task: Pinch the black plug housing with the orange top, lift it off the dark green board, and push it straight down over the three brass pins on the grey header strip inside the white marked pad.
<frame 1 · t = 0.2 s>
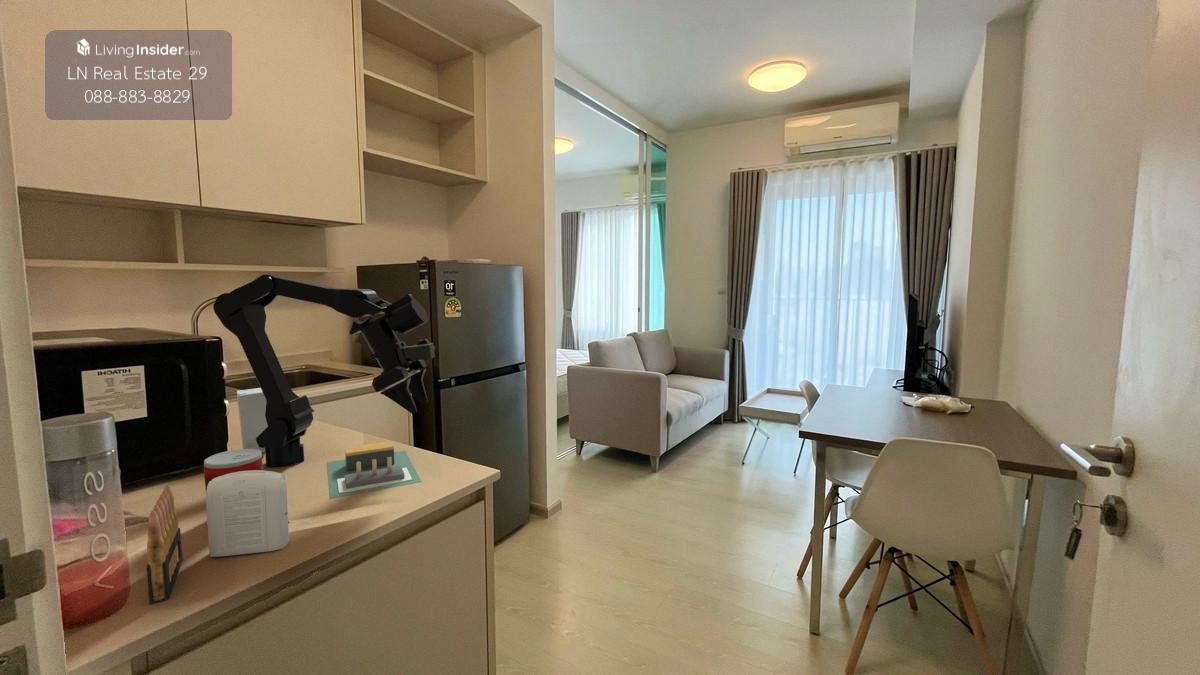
hand: (420, 407, 104), 14 cm above the counter, tool tilted 30°, fingers open, 9 cm apart
photo printer: (251, 550, 74), on the counter
plug housing: (370, 464, 104), point 1 cm above the counter, touching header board
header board: (372, 478, 101), on the counter
ammunition clip: (167, 581, 66), on the counter
skincare box: (262, 450, 116), on the counter
canned food: (237, 518, 84), on the counter
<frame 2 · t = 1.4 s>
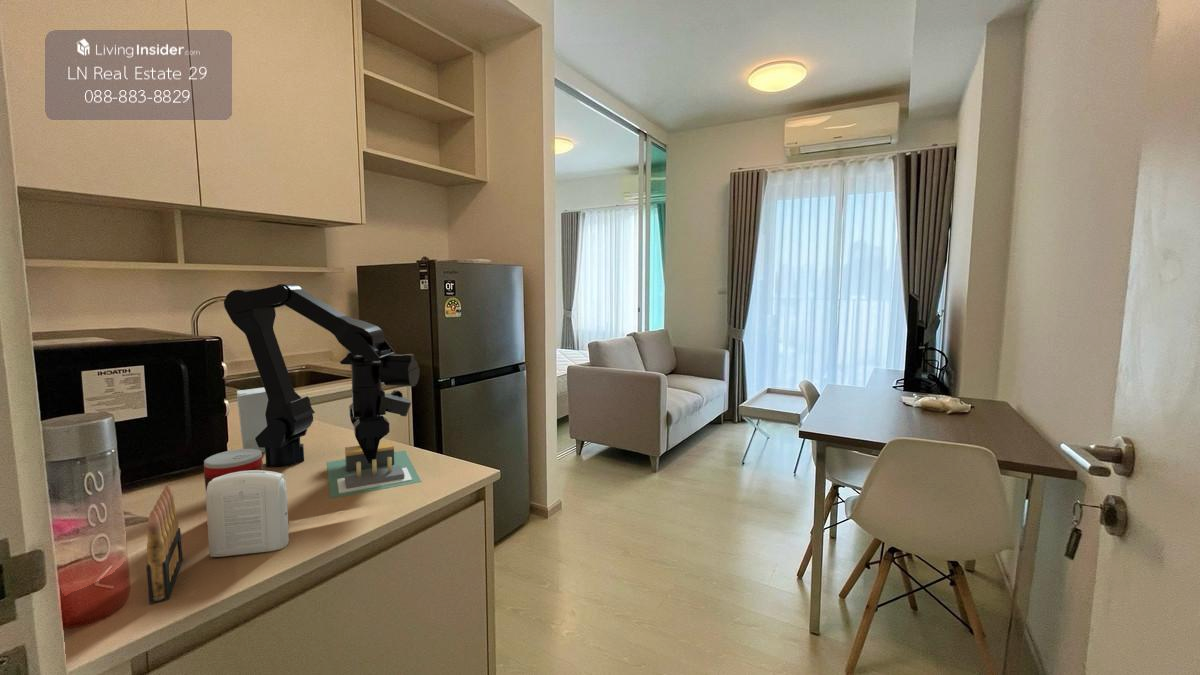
hand: (369, 455, 104), 4 cm above the counter, tool pointing down, fingers open, 9 cm apart
nothing on the counter moved.
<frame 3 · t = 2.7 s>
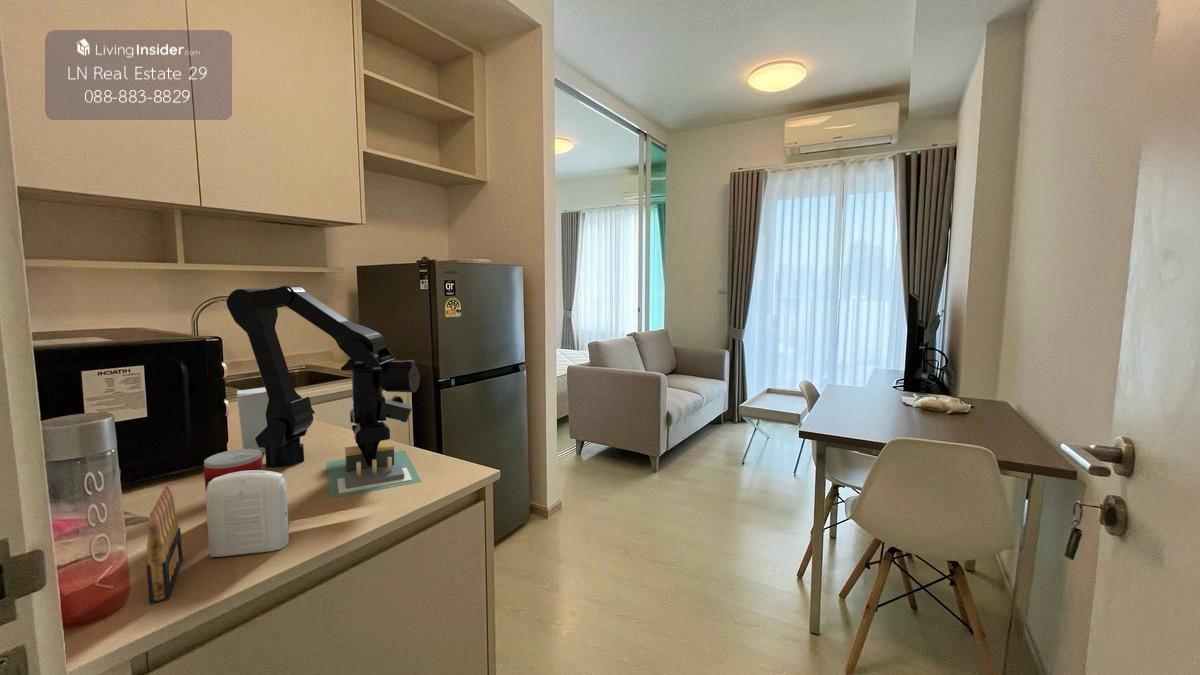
hand: (370, 461, 104), 2 cm above the counter, tool pointing down, fingers closed on plug housing, 4 cm apart
plug housing: (370, 464, 104), point 2 cm above the counter, touching gripper, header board
everything else where it was.
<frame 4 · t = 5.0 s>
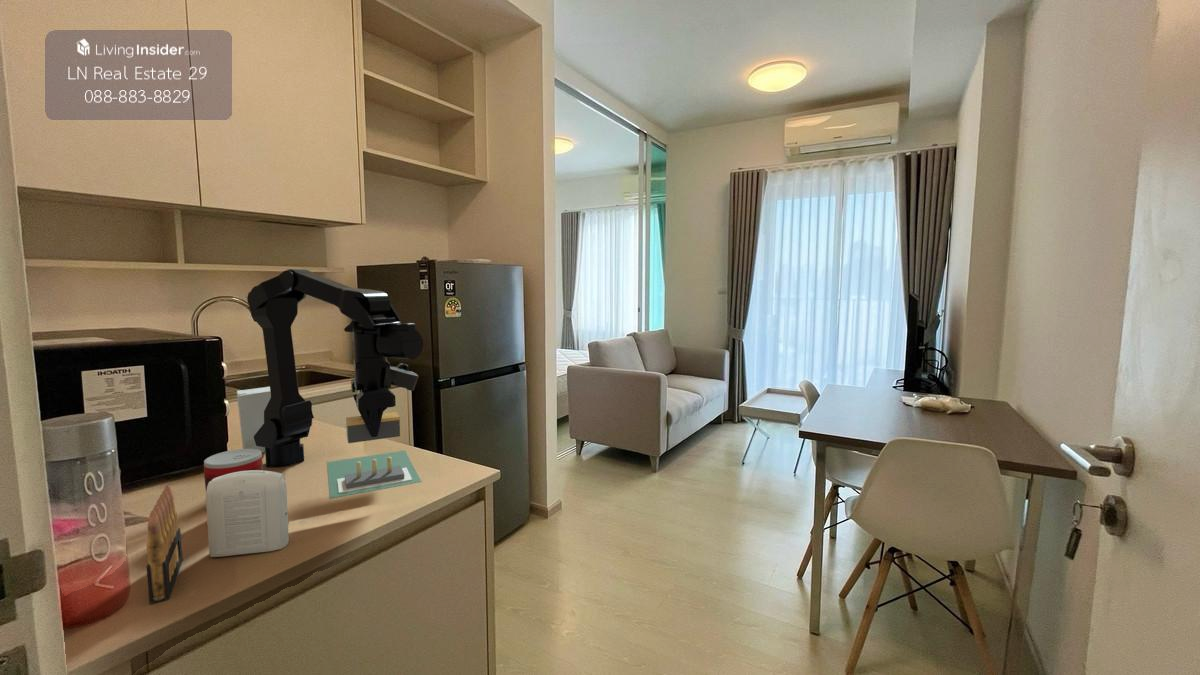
hand: (373, 433, 96), 11 cm above the counter, tool pointing down, fingers closed on plug housing, 4 cm apart
plug housing: (373, 436, 96), point 10 cm above the counter, touching gripper
everything else where it was.
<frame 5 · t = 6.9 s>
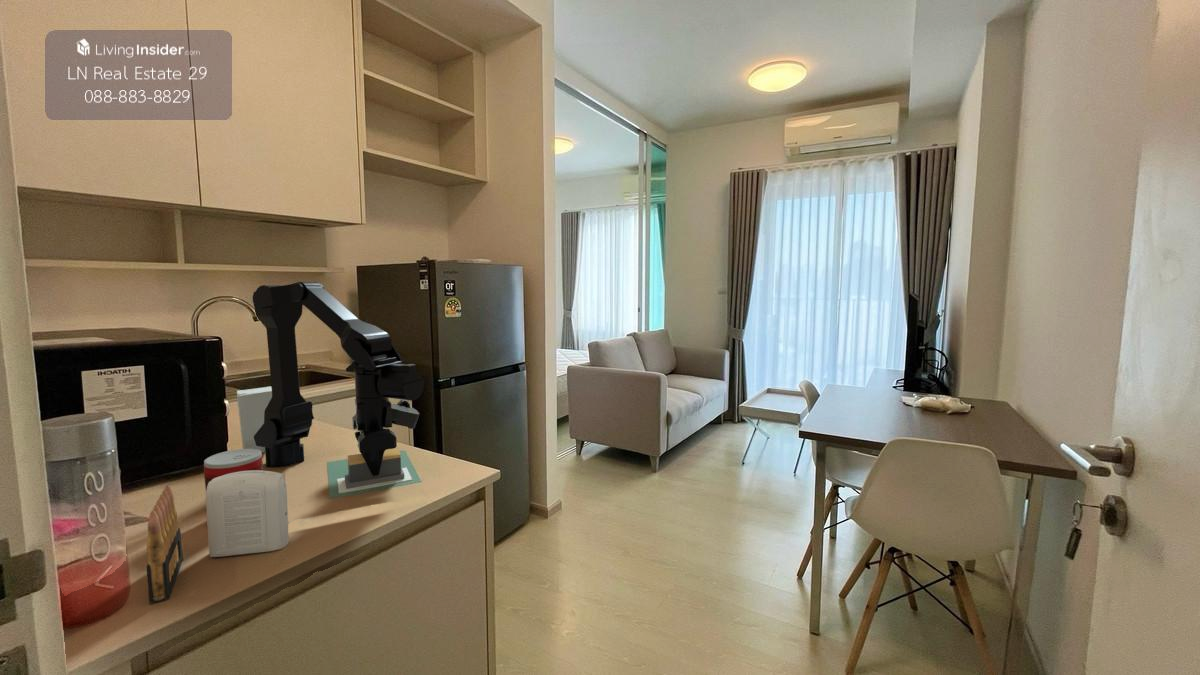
hand: (374, 471, 96), 3 cm above the counter, tool pointing down, fingers closed on plug housing, 4 cm apart
plug housing: (374, 474, 96), point 3 cm above the counter, touching gripper, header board
everything else where it was.
when the fingers open (3 cm above the counter, at t = 7.7 s): plug housing stays where it is, resting on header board.
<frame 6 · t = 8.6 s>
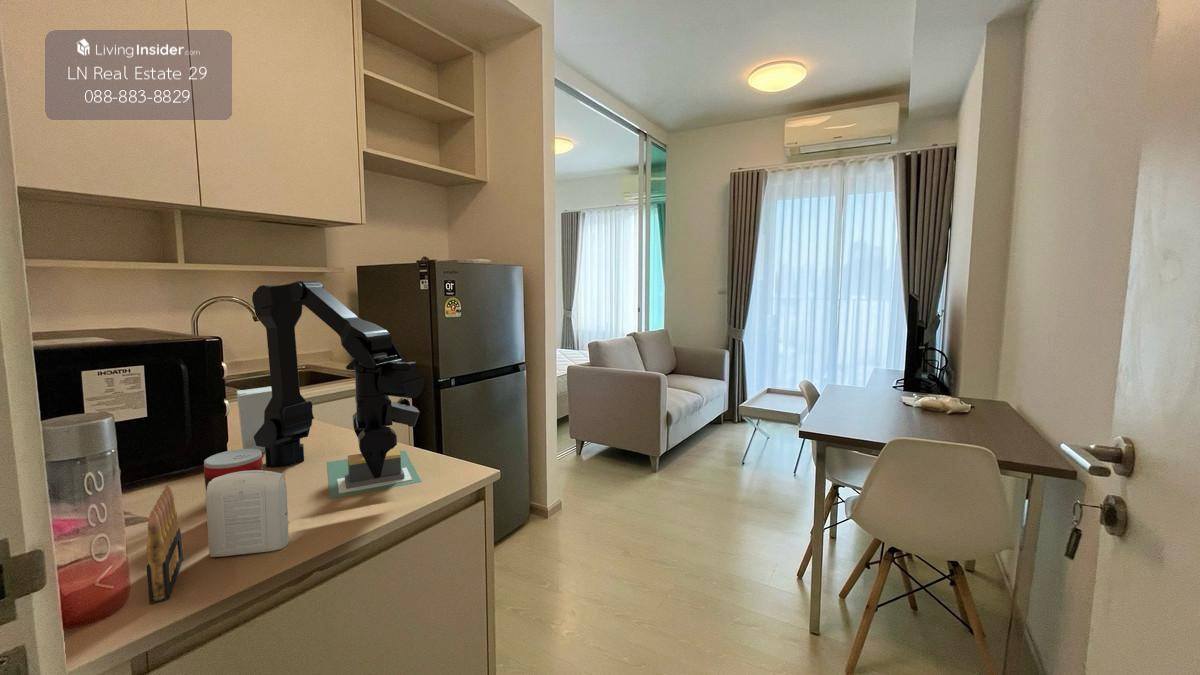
hand: (374, 469, 96), 4 cm above the counter, tool pointing down, fingers open, 9 cm apart
plug housing: (374, 474, 96), point 3 cm above the counter, touching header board
everything else where it was.
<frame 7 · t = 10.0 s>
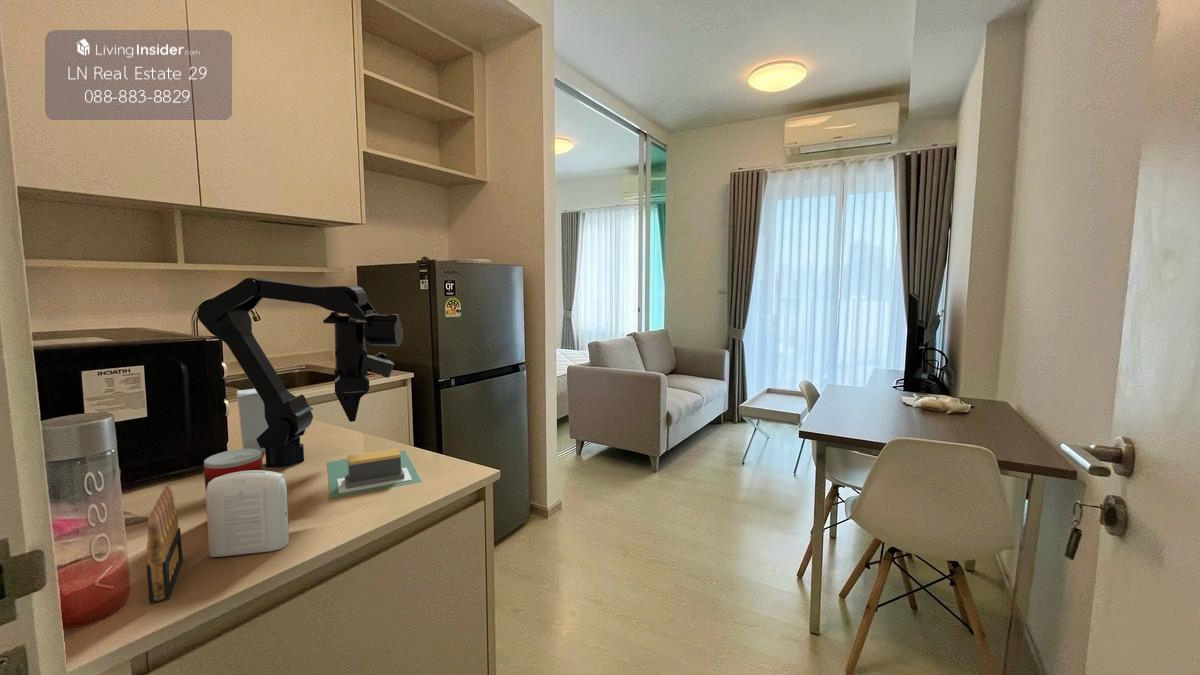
hand: (351, 415, 105), 12 cm above the counter, tool pointing down, fingers open, 9 cm apart
nothing on the counter moved.
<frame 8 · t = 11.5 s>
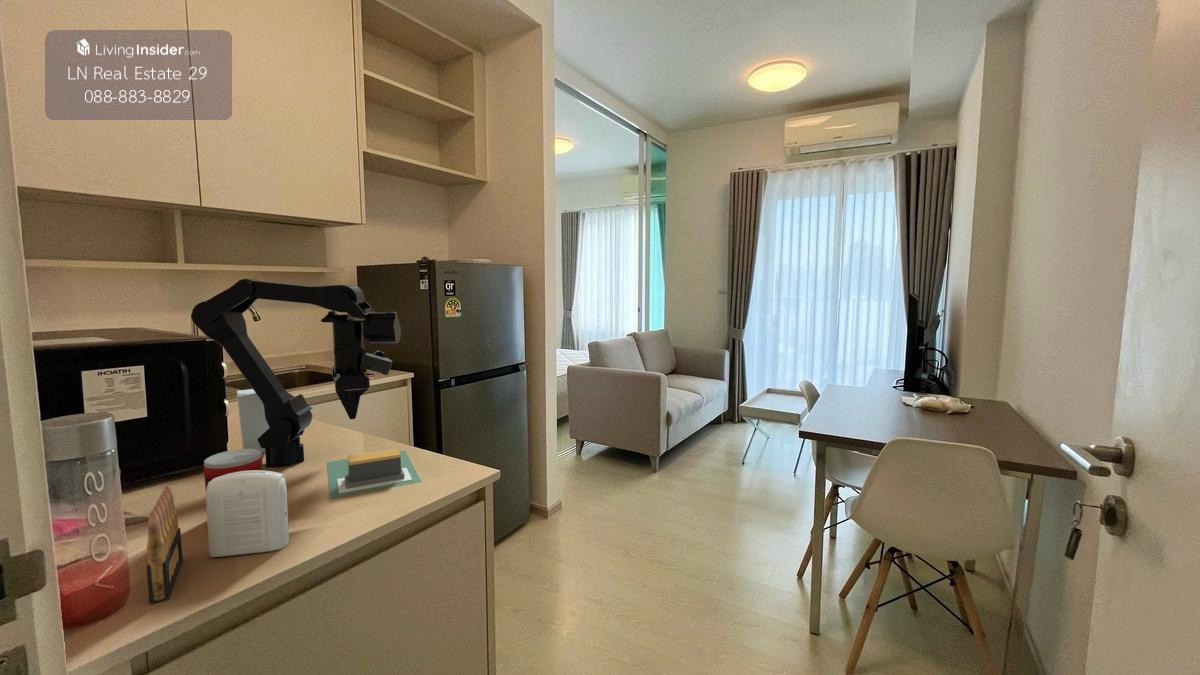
hand: (351, 413, 106), 12 cm above the counter, tool pointing down, fingers open, 9 cm apart
nothing on the counter moved.
at the end: plug housing 0.0 cm from the target spot on the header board, point 2.7 cm above the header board's base; plug housing tilted 0°; the gripper is holding nothing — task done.
